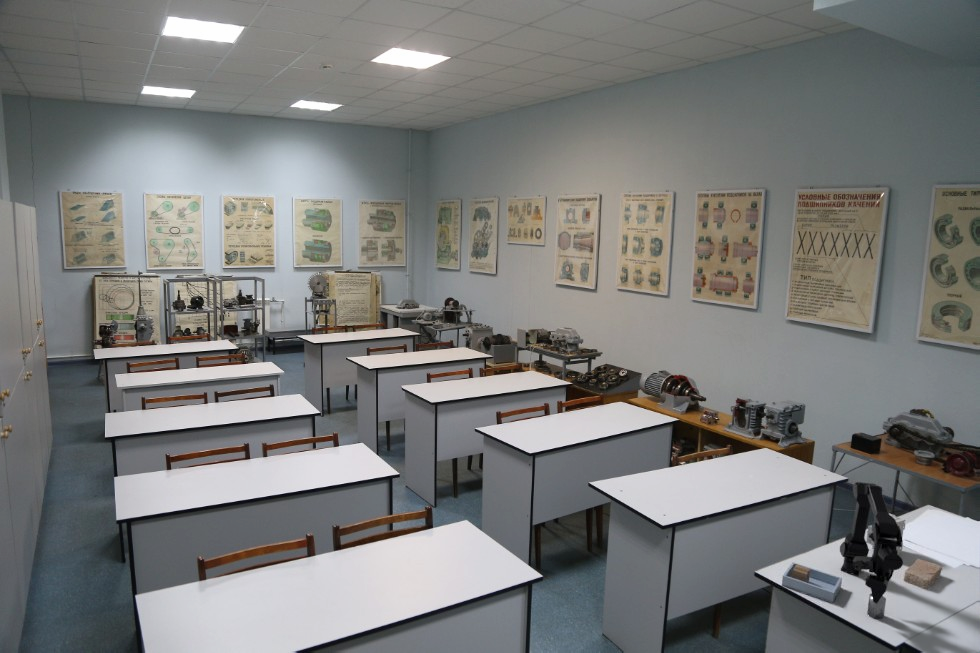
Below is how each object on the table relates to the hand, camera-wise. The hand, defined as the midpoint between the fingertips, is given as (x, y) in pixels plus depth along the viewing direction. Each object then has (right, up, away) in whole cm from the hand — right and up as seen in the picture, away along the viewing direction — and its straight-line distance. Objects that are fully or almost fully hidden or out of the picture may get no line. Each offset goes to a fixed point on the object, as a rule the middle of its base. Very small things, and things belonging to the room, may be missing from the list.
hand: (877, 596), depth 224 cm
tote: (-14, -4, +19) cm, 24 cm away
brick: (+34, -5, +26) cm, 43 cm away
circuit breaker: (+30, -1, +47) cm, 56 cm away
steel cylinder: (0, -7, +1) cm, 7 cm away
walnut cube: (-17, -3, +21) cm, 27 cm away
